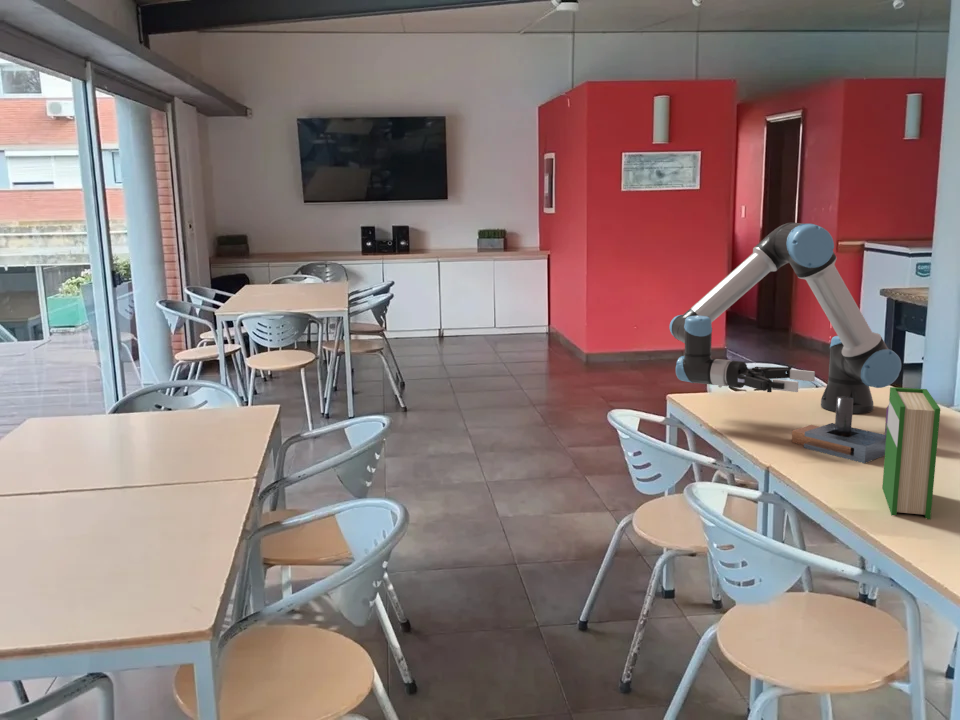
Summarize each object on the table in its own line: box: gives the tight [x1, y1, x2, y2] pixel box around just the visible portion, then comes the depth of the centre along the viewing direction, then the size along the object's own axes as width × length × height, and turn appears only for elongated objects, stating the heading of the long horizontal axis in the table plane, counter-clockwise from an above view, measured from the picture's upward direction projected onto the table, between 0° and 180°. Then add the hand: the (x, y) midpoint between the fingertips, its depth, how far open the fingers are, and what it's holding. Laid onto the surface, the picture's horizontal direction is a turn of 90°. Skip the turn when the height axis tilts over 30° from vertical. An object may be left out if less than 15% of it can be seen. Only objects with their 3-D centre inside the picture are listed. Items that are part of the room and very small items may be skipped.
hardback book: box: [881, 386, 941, 520], centre depth 185 cm, size 18×7×24 cm, turn 161°
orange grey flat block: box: [791, 422, 886, 464], centre depth 226 cm, size 22×13×4 cm, turn 37°
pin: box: [834, 396, 853, 437], centre depth 224 cm, size 4×4×14 cm
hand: (806, 381), depth 228 cm, fingers open, 13 cm apart
